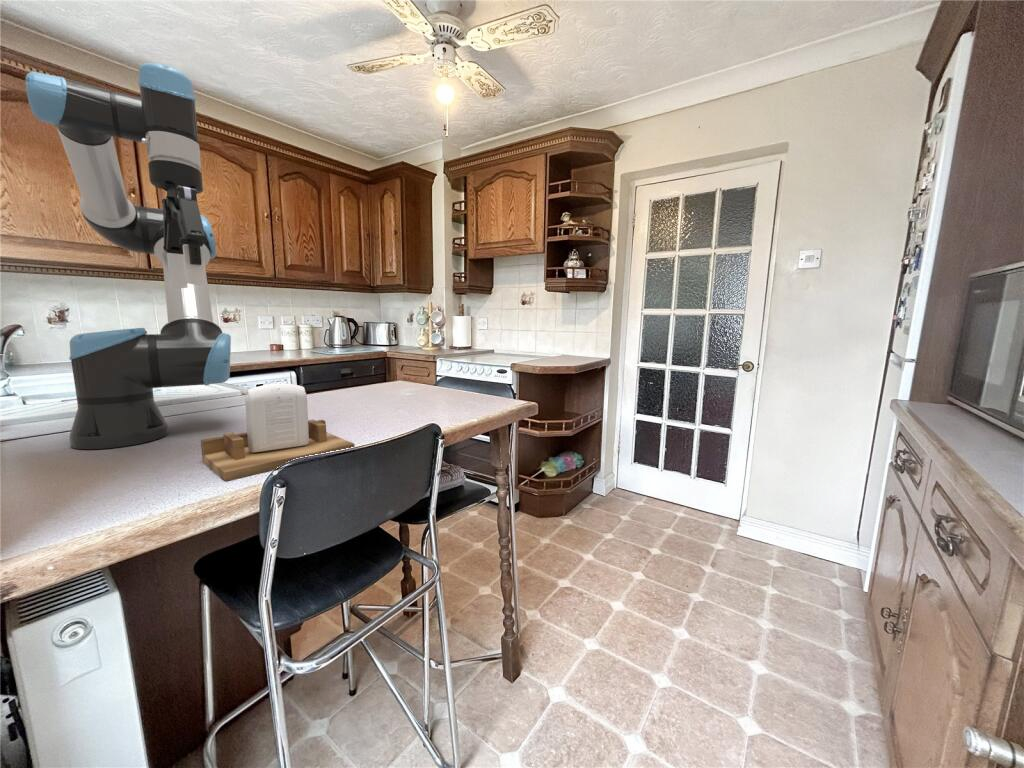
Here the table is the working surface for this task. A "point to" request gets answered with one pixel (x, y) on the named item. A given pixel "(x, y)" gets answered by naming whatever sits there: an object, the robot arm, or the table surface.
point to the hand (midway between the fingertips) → (187, 286)
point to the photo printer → (276, 417)
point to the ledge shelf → (263, 452)
